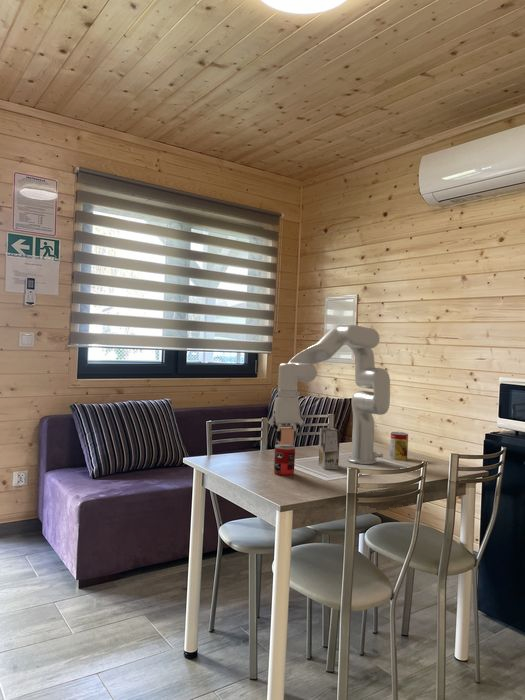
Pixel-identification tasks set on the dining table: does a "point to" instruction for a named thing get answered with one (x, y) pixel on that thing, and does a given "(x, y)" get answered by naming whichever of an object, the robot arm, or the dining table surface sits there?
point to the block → (287, 436)
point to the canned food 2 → (399, 446)
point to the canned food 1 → (284, 460)
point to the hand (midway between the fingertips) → (285, 440)
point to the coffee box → (329, 448)
